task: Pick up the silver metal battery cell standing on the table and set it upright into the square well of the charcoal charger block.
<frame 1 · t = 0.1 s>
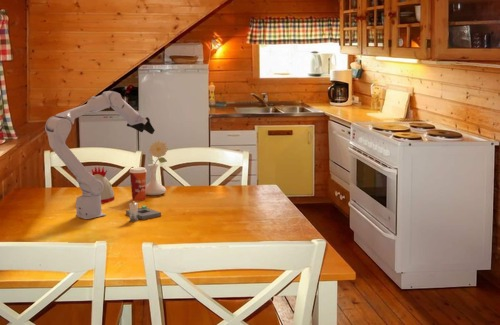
hand: (148, 131, 294), 32 cm above the table, tool tilted 50°, fingers open, 7 cm apart
battery cell: (133, 220, 275), on the table
flower in vase: (155, 194, 320), on the table
charger block: (143, 215, 283), on the table
paper cup: (138, 199, 310), on the table
kitchen timer: (98, 200, 309), on the table
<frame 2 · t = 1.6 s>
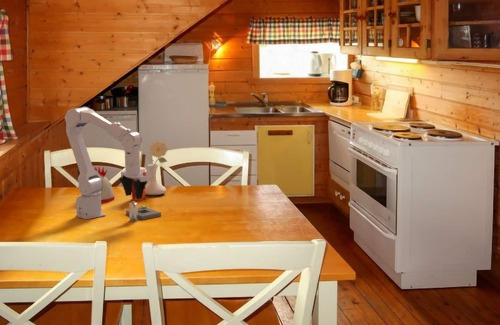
hand: (133, 196, 273), 10 cm above the table, tool pointing down, fingers open, 7 cm apart
nothing on the table moved.
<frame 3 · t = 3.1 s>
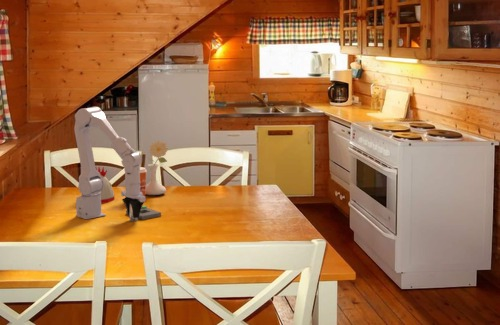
hand: (133, 216, 274), 2 cm above the table, tool pointing down, fingers closed on battery cell, 3 cm apart
battery cell: (133, 220, 275), on the table, touching gripper
everything else where it was.
when the fingers open (2 cm above the table, at t = 6.9 s): battery cell stays where it is, resting in charger block.
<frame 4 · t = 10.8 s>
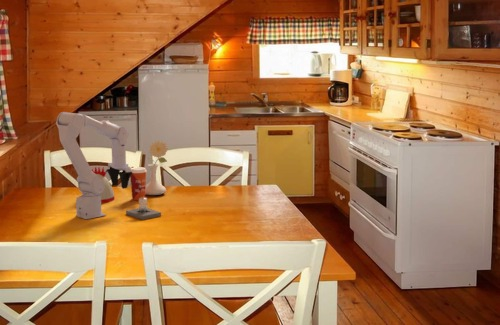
hand: (119, 186, 292), 9 cm above the table, tool pointing down, fingers open, 7 cm apart
battery cell: (143, 215, 283), resting in charger block
everything else where it was.
at the end: battery cell 0.0 cm off-centre on the charger block, point 0.0 cm above the charger block's base; battery cell tilted 0°; the gripper is holding nothing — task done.
